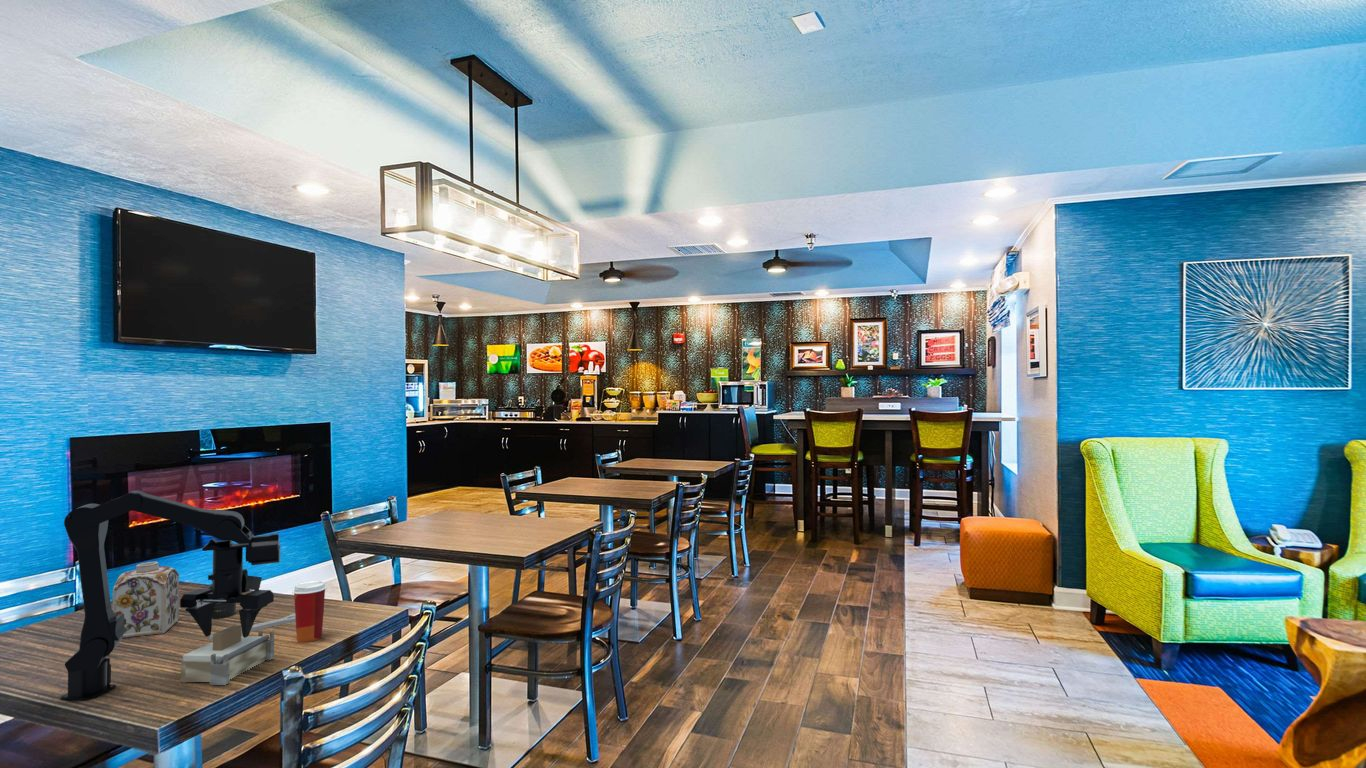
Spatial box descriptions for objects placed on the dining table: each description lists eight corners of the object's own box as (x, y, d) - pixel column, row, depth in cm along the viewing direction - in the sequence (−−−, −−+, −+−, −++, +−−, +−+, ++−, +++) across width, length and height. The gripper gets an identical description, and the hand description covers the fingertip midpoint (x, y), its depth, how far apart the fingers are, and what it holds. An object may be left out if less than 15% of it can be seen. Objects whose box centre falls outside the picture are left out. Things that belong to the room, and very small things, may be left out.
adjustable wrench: (210, 643, 171) (210, 636, 171) (206, 636, 176) (206, 630, 176) (317, 620, 188) (317, 614, 188) (312, 615, 193) (312, 609, 193)
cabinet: (229, 657, 160) (230, 630, 160) (273, 658, 159) (274, 631, 159) (176, 684, 145) (177, 654, 145) (225, 685, 144) (225, 655, 144)
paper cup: (318, 631, 178) (319, 578, 178) (331, 637, 173) (331, 583, 173) (286, 639, 172) (287, 585, 172) (298, 646, 167) (299, 590, 167)
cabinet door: (229, 638, 160) (230, 618, 160) (269, 639, 159) (269, 619, 159) (178, 663, 145) (178, 640, 145) (221, 664, 144) (221, 641, 144)
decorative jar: (164, 634, 177) (165, 566, 177) (110, 640, 172) (111, 570, 173) (179, 620, 188) (180, 556, 188) (129, 626, 184) (129, 560, 184)
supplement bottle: (212, 612, 194) (212, 571, 195) (239, 610, 197) (239, 569, 197) (203, 620, 188) (203, 577, 188) (231, 617, 190) (231, 575, 190)
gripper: (290, 560, 160) (289, 625, 159) (217, 559, 161) (216, 624, 161) (256, 571, 149) (255, 642, 148) (178, 570, 150) (177, 640, 150)
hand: (227, 636), depth 152 cm, fingers open, 9 cm apart
